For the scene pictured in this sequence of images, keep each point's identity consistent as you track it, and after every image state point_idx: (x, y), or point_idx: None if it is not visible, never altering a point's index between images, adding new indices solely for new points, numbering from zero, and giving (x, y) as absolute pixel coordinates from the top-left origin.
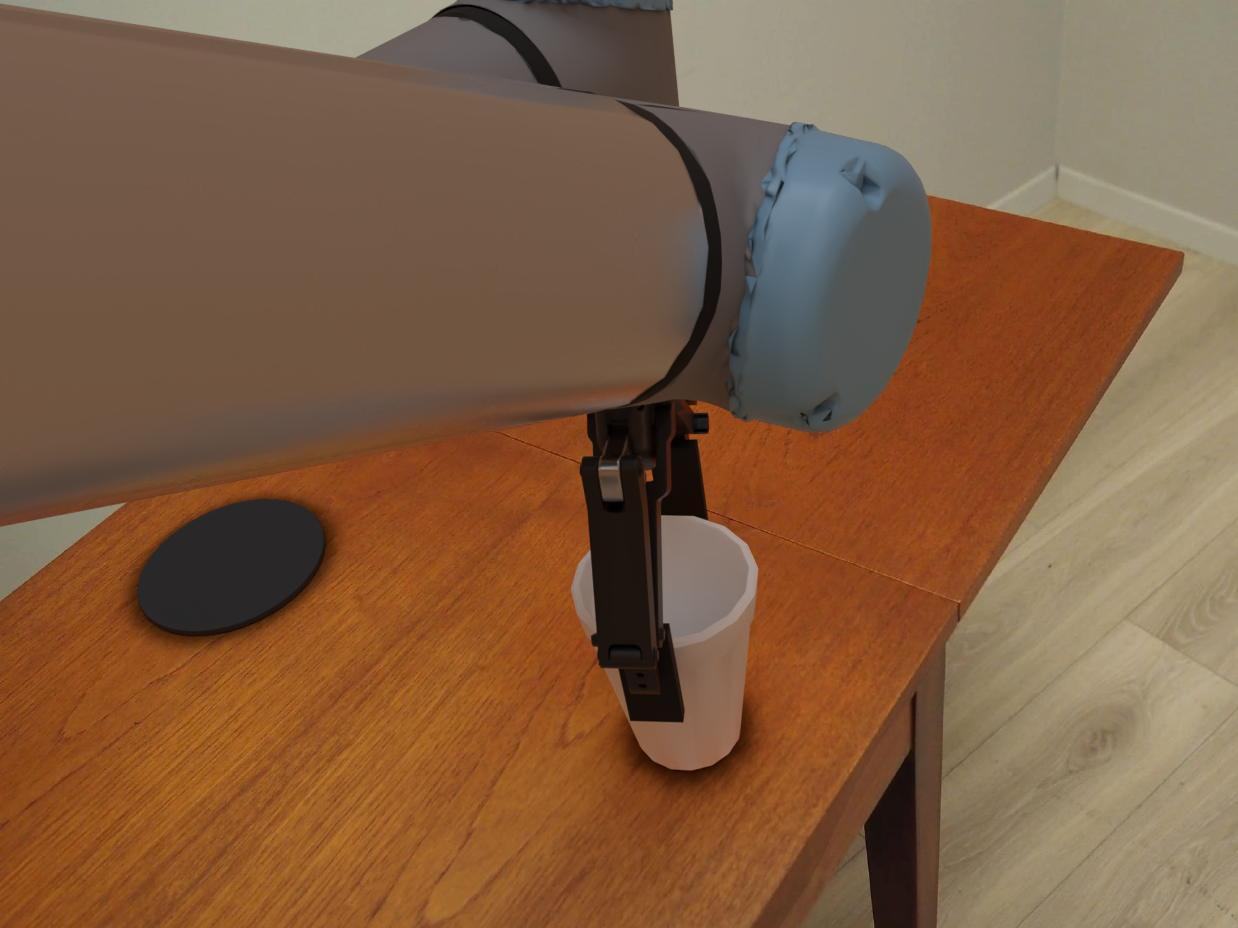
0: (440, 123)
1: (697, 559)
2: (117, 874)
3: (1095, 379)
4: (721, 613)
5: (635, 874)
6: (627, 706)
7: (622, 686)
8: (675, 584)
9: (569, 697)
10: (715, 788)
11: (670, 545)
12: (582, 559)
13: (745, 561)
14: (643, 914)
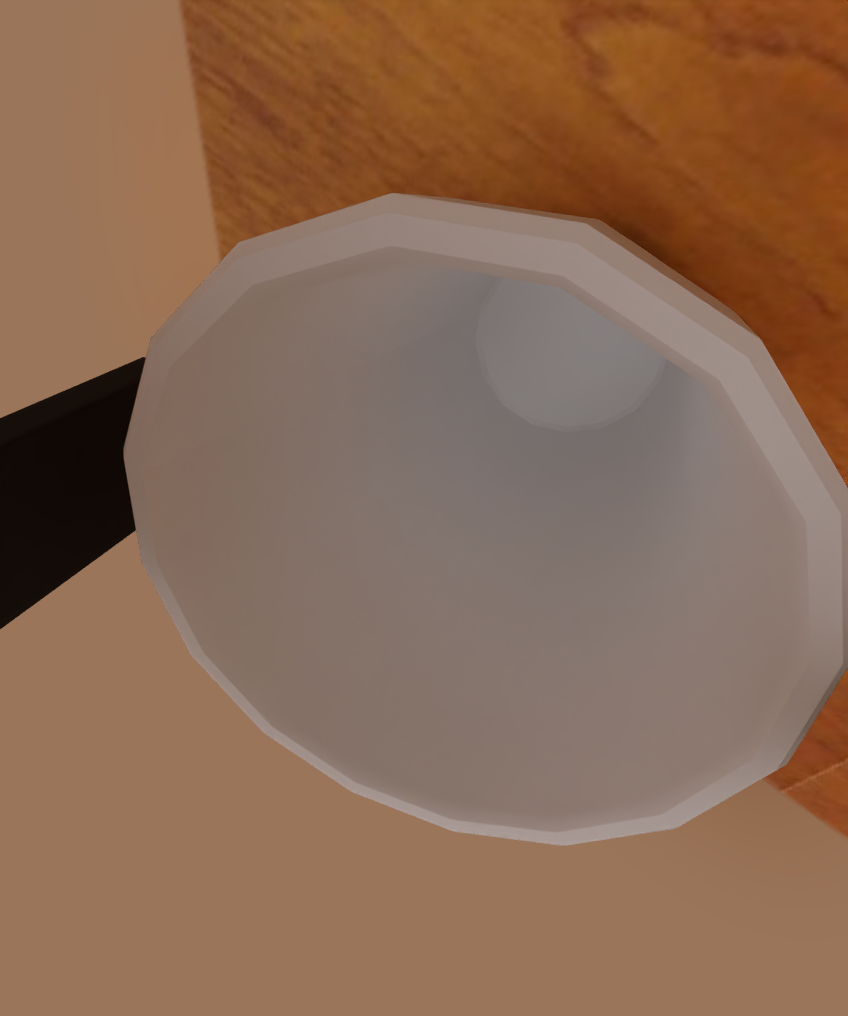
0: None
1: (699, 628)
2: None
3: None
4: (630, 558)
5: (281, 228)
6: (99, 377)
7: (25, 408)
8: (719, 491)
9: (736, 10)
10: None
11: (752, 590)
12: (590, 255)
13: (484, 817)
14: (222, 245)
